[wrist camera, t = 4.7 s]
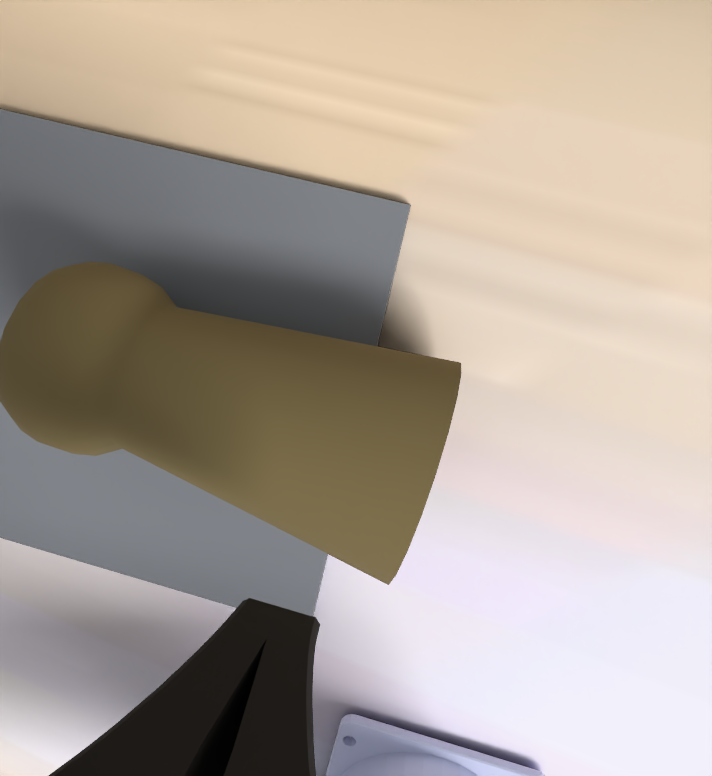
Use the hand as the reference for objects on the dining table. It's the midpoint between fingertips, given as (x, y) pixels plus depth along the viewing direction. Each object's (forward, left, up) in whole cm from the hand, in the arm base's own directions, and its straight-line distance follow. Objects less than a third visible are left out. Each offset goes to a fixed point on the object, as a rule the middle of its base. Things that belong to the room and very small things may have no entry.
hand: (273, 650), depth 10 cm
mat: (0, +9, -9) cm, 13 cm away
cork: (+1, -2, -6) cm, 6 cm away
